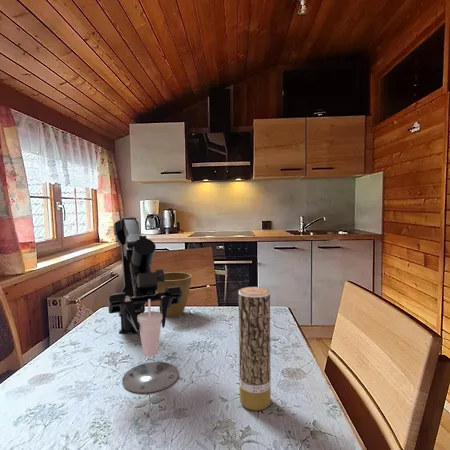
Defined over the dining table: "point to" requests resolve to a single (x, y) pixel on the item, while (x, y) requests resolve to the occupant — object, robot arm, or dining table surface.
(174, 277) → the plant pot
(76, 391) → the dining table surface
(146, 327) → the smoothie
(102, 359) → the dining table surface
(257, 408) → the paper tube
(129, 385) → the flange plate
